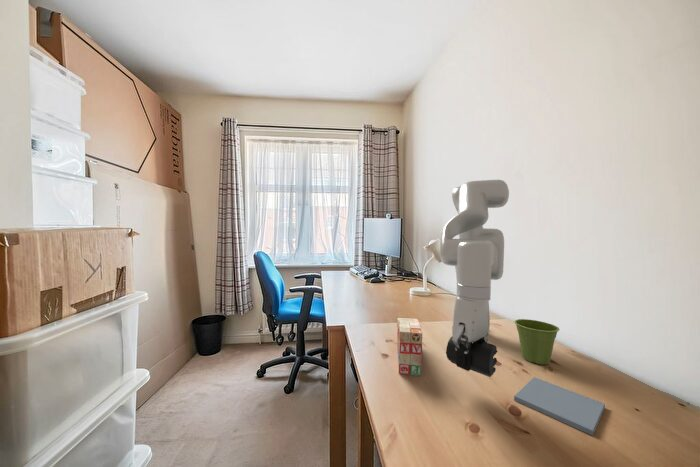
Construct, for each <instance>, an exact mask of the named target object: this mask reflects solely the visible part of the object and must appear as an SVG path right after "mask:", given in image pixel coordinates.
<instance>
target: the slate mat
mask: <svg viewBox="0 0 700 467" xmlns="http://www.w3.org/2000/svg"><path fill="white" fill-rule="evenodd" d="M513 400H514V402H515V401H516V402H517V403H519V404H521V405H523V406H526V407H528V408H530V409H533V410H535V411H537V412H538V413H542V414H544V415H545V416H548V417H550V418H552V419H555V420H557V421H559V422H561V423H564V424H566V425H568V426H570V427H573V428H574V429H577V430H579V431H581V432H584V433H586V434H588V435H590V436H593V437H594V433H595V432H596V429H597V426H598V424H599V423H600V420H601V417H602V415H603V413H604V410H605V408H606V403H605V402H602V401H599V400H596V399H594V398H592V397H588V396H587V395H583V394H581V393H578V392H575V391H572V390H569V389H568V388H564V387H562V386H559V385H556V384H554V383H552V382H548V381H546V380H542V379H541V378H538V377H535V376H533V378H531V379H530V380H529V381H528V382H527V384H525V385H524V386H523V387H522V388H521V389H520V390H519V391H517V393H516V394H515V395H514V397H513Z"/></svg>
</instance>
